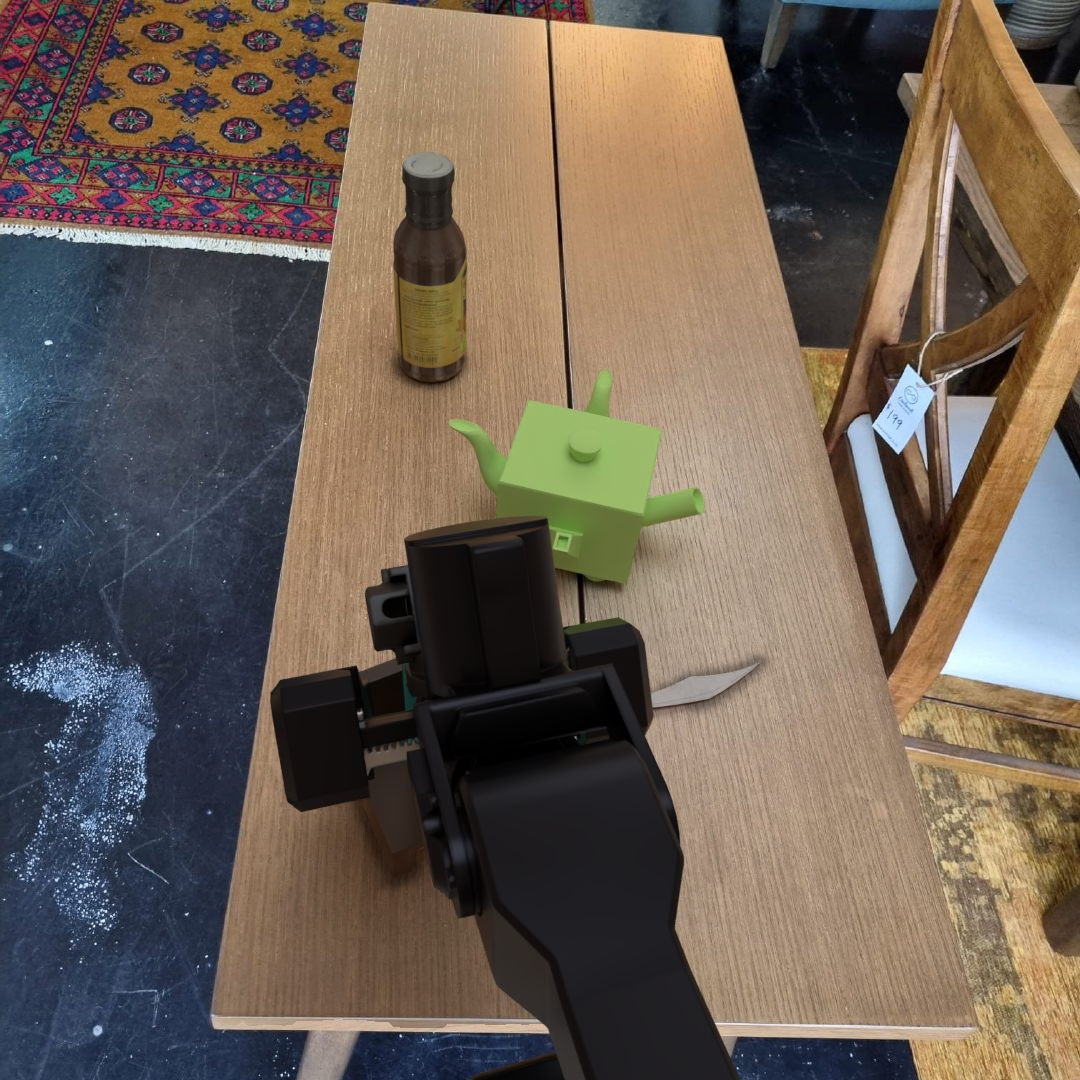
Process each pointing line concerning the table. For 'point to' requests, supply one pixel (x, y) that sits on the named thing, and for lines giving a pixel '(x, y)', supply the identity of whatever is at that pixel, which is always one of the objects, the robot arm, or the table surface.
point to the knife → (697, 688)
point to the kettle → (581, 481)
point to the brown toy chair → (392, 779)
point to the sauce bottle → (430, 272)
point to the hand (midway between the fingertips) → (442, 673)
